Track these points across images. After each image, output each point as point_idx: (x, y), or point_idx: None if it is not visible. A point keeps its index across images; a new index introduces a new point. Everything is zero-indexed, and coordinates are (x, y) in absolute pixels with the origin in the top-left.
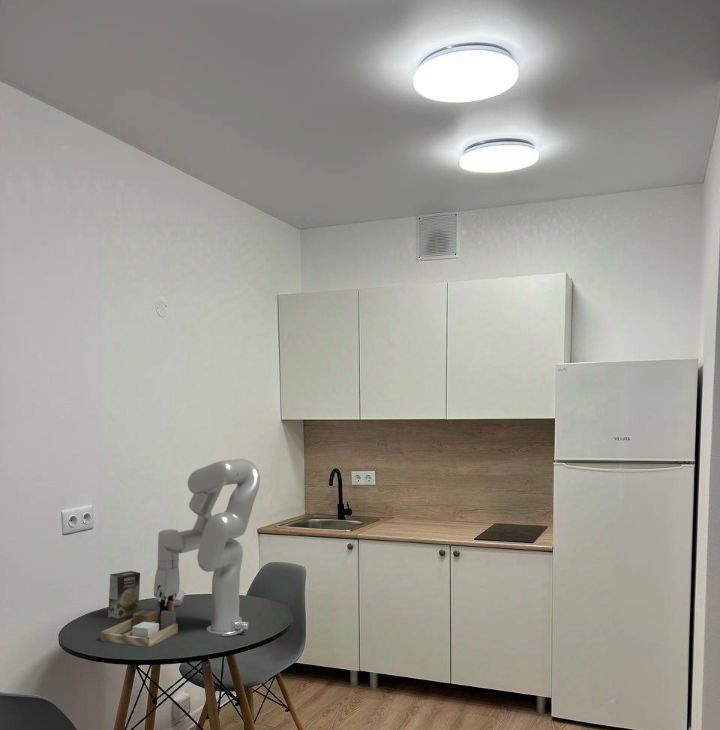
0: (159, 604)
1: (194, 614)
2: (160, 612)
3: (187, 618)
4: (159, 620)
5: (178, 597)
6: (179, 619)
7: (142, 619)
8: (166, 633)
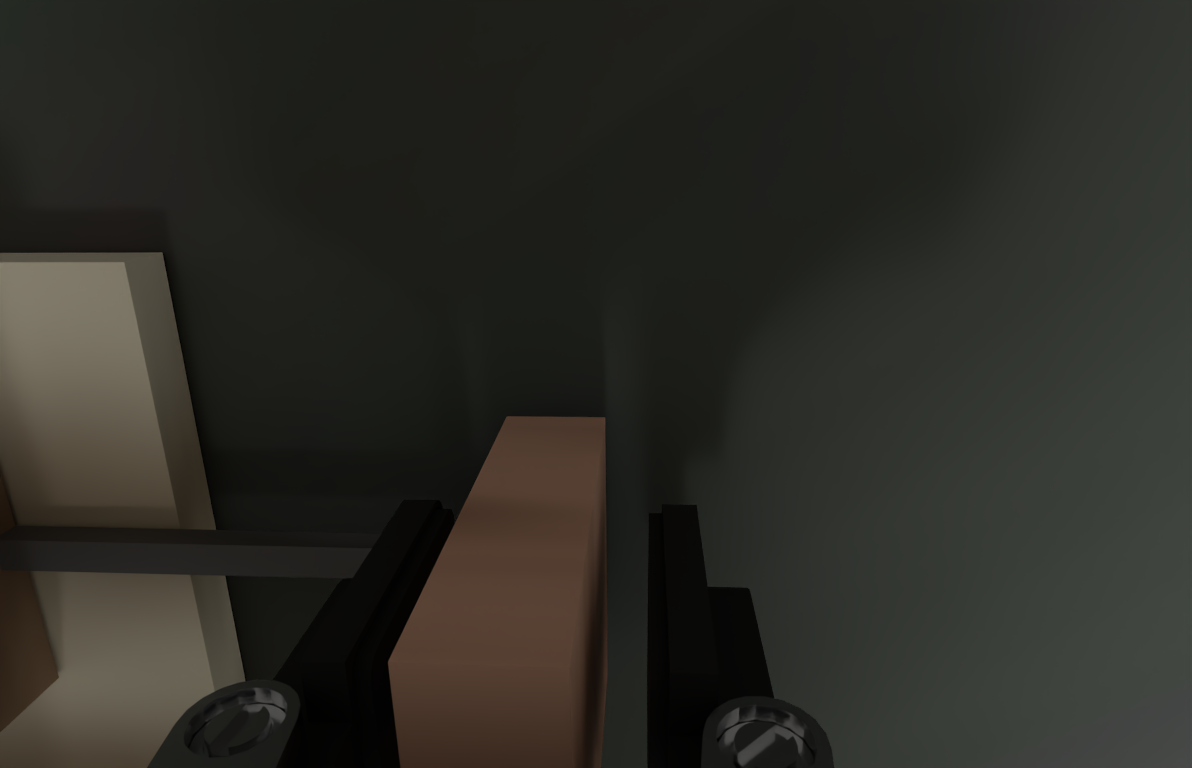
0: (190, 731)
1: (1102, 754)
2: (334, 592)
3: None
4: (273, 572)
5: None
6: None
7: None
8: None
